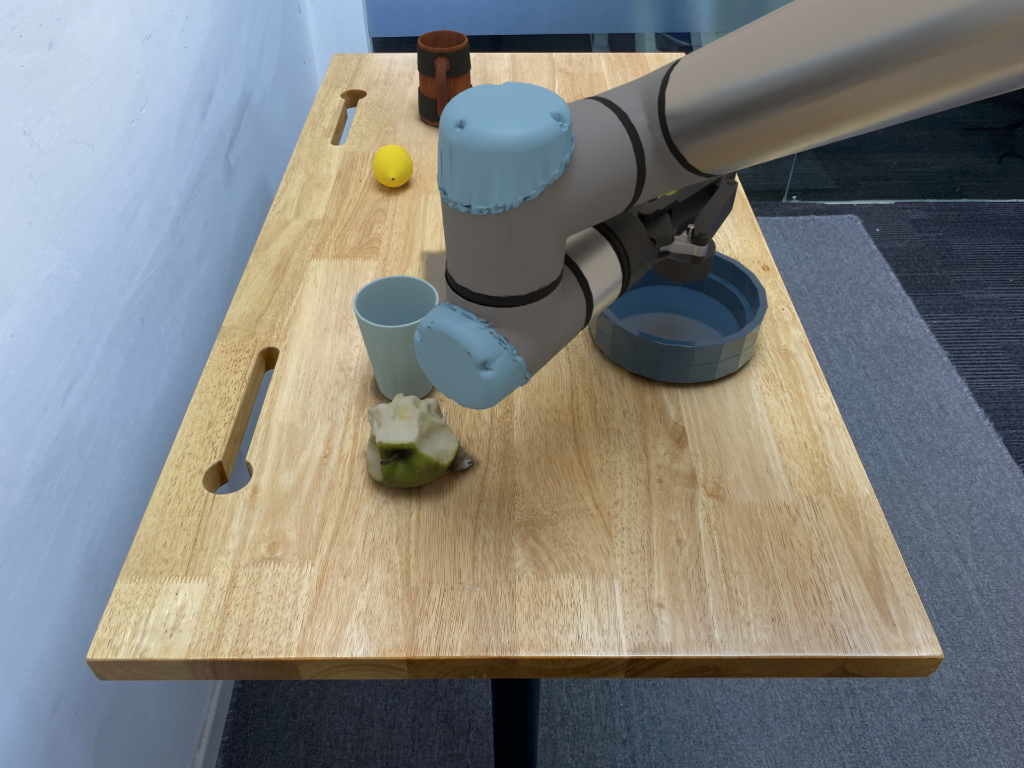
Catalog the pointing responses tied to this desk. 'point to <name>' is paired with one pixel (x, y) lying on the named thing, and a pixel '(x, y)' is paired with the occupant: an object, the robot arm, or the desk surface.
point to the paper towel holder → (685, 261)
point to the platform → (437, 273)
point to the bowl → (685, 324)
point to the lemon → (392, 165)
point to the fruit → (411, 443)
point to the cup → (395, 331)
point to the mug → (441, 71)
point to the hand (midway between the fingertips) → (726, 147)
